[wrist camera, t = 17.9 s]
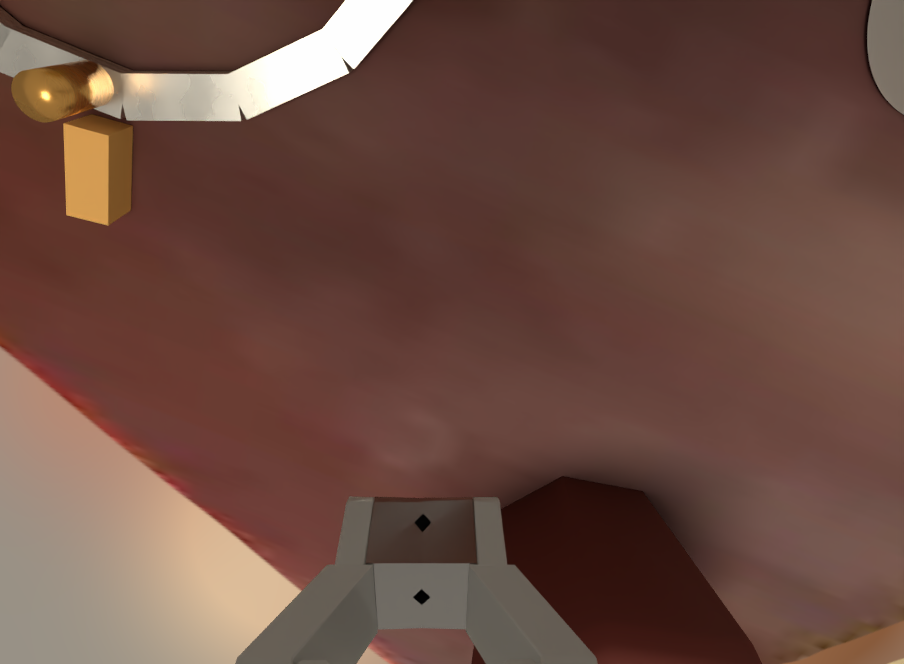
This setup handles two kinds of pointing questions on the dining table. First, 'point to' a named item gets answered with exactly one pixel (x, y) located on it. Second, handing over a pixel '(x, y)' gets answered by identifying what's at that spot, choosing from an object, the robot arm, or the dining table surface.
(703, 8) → the dining table surface
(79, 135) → the pointer block
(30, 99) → the ring
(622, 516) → the bucket
